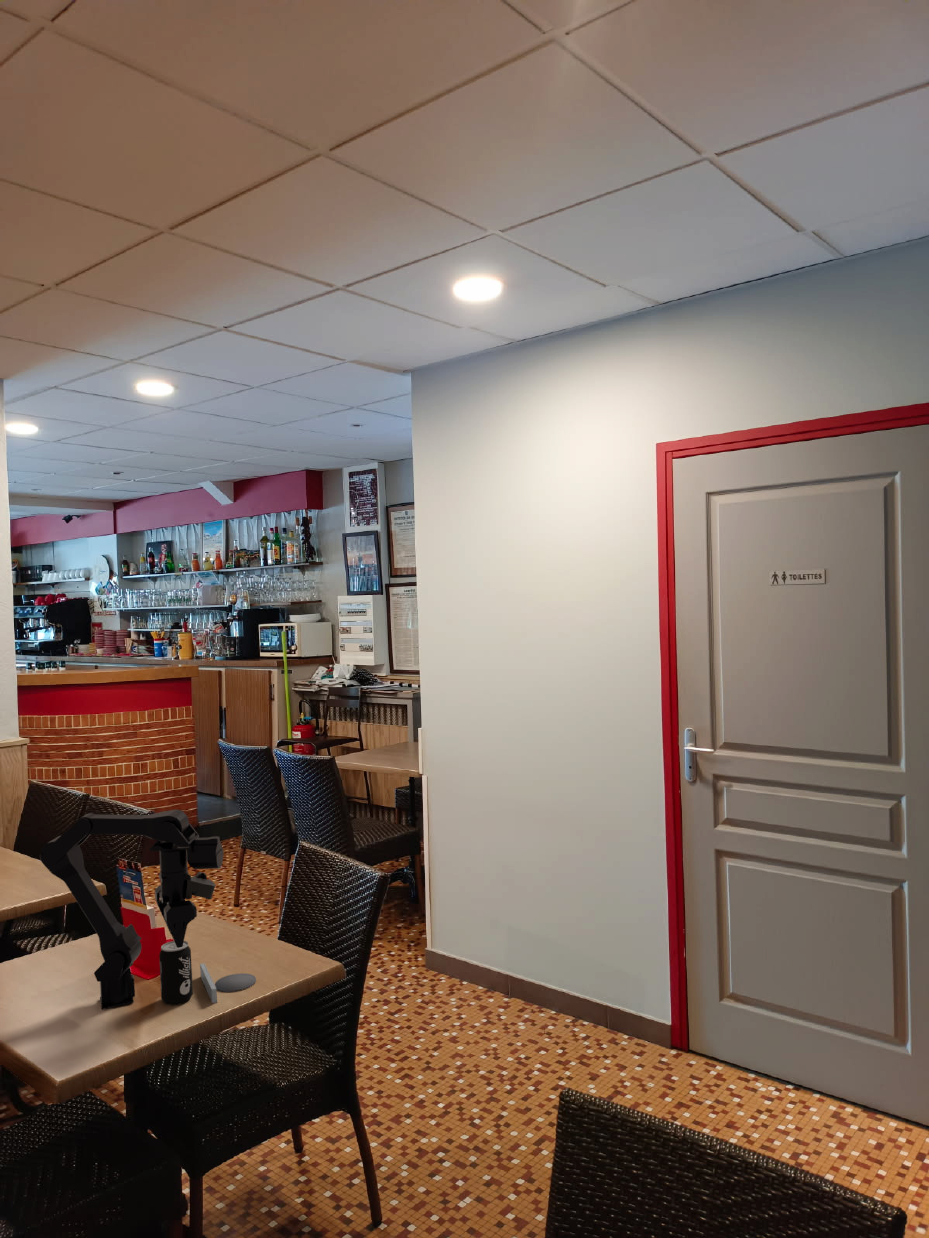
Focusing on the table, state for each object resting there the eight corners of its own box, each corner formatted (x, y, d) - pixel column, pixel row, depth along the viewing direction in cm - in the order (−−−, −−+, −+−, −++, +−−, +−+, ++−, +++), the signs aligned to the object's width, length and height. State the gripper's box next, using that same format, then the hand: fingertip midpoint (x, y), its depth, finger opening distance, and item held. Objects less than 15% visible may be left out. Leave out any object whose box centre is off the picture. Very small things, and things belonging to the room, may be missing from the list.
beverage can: (173, 1008, 193) (170, 953, 192) (155, 1001, 196) (152, 947, 196) (199, 997, 198) (196, 943, 198) (181, 990, 202) (178, 937, 202)
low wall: (212, 1003, 194) (211, 989, 194) (200, 976, 209) (200, 963, 209) (217, 1002, 195) (216, 988, 195) (204, 975, 209) (204, 962, 209)
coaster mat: (218, 995, 198) (218, 993, 198) (212, 980, 207) (211, 978, 207) (259, 986, 202) (259, 984, 202) (251, 972, 210) (251, 970, 210)
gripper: (220, 874, 192) (222, 947, 193) (203, 853, 209) (205, 920, 209) (165, 883, 187) (168, 957, 188) (153, 861, 204) (155, 929, 204)
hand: (176, 940), depth 197 cm, fingers open, 9 cm apart
